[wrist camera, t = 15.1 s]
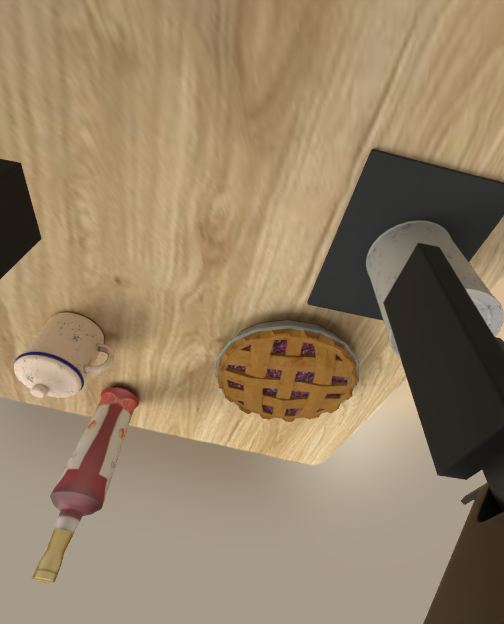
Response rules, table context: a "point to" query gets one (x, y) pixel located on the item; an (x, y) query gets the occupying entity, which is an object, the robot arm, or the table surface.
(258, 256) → the table surface
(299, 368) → the pie
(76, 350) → the teacup with lid
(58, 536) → the liquor
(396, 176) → the back mat
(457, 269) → the tin can
